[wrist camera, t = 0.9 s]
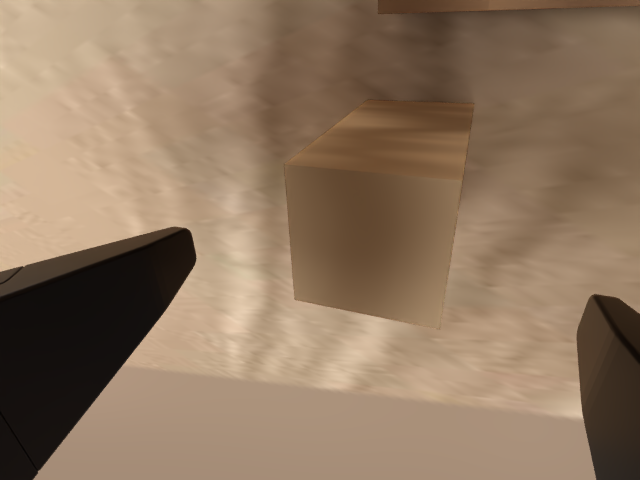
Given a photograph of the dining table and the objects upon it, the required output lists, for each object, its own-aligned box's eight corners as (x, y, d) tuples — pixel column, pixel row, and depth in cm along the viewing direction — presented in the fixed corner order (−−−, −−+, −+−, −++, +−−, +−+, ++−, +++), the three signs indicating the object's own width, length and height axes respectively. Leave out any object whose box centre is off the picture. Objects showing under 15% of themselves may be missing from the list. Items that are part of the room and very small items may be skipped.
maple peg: (474, 103, 15) (462, 180, 8) (459, 203, 17) (439, 329, 10) (367, 99, 16) (283, 164, 10) (365, 193, 18) (294, 299, 12)
